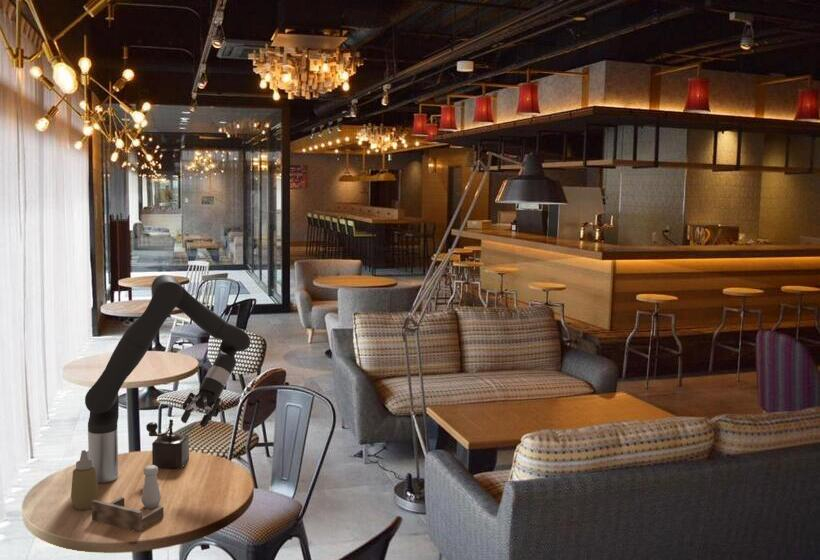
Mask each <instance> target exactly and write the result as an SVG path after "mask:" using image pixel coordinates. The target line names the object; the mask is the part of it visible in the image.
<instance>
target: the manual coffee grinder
mask: <svg viewBox="0 0 820 560" xmlns="http://www.w3.org/2000/svg"><path fill="white" fill-rule="evenodd" d="M168 421H169V423H168V428H167V429H166V430H165V431H164V432H161V433H158V432H157V429H158V428H159V426H158V423H157V422H149V423H147V424H146V425H145V427H146V431H147V432H148V436H149V437H156V439H155V440H154V441H153V442H152V444H151V445H152V448H151V450H152V455H151V457H152V460H151V461H152V465H155V466H157V467H158V470H181V469H182V468H183V467H184V466H185V465H186V464H187V462H188V461H189V460H190V453H189V452H190V435H189V434H179V433H176V432H173V426H174V420H173V419H169V420H168ZM185 463H186V464H185ZM184 464H185V465H184ZM183 465H184V466H183Z"/></svg>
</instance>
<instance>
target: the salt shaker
mask: <svg viewBox="0 0 820 560" xmlns="http://www.w3.org/2000/svg"><path fill="white" fill-rule="evenodd" d="M143 468H144V469H143V475H144V476H145V477H144V484H143V489H142V495H141V504H142V505H143V506H144V509H149V510H154V509H157V508H158V507H159V504H160V502H161V499H162V496H161V490H160V485H159V481H158V477H157V474H159V473H158V472H159V469H158V467H157V466H155V465H153V464H149V465H146V466H144V467H143Z"/></svg>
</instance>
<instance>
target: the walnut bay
mask: <svg viewBox="0 0 820 560" xmlns="http://www.w3.org/2000/svg"><path fill="white" fill-rule="evenodd" d="M163 517H164V506H162V505H161V506H157V507H156V508H154V509H152V511H150V512H148V513H146V514H144V515H143V511H141V510H140V509H139V510H138V509H133V508H131V507H126V506H125V497H124V496H120V497H118V498H116V499H115V500H113V501H111V502H105V501H102V500H98V499H97V500H93V501H92V508H91V521H93V522H94V521H95V522H97V523H100V524H101V523H102V524H107V525H109V526H114V527H116V526H117V527H118V528H121V529H124V530H128V529H129V530H128V531H132V530H134V531H133V532H135V531H137V532H136V533H139V532H140V533H141V532H143V529H145V528H146V526H147V527H149V526H150V525H151V524H154V523H155V522H157V521H158V520H160V519H162V518H163Z"/></svg>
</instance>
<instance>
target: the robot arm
mask: <svg viewBox="0 0 820 560" xmlns="http://www.w3.org/2000/svg"><path fill="white" fill-rule="evenodd" d="M151 293H152V297H151V299H150V301H149V303H148V305H147V307H146V309H145V310H144V312H143V313H142V314H141V316H139V317H138V318H137V319H136V320H135V321H134V322H133V323H132V324H131V325H130V326H128V328H127V329H126V330H125V332H124V333H123V335H122V337H121V338H120V340H119V341H118V343H117V345H116V346H115V349H114V350H113V352H112V354H111V356H110V357H109V359H108V360H109V361H108V362H107V364H106V367H105V368H104V370H103V372H102V373H101V375H100V376H99V377H98V379H97V380H96V381H95V383H94V384H93V385H92V386H91V387H90V388H89V390H88V391H87V392H86V394H85V396H84V405H85V407H86V409H87V410H88V411H89V418H88V422H87V441H88V442H87V445H88V446H87V447H88V450H87V451H86V453H87V457H88V460H91V461H92V467H94V468H95V470H96V477H97V484H105V483H109V482H113V481H115V480H117V479H118V478H119V447H118V445H119V444H118V443H119V441H118V440H119V439H118V435H119V434H118V420H119V413H120V412H119V411H120V409H119V406H120V405H119V402H120V399H119V391H120V389H121V387H122V386H123V384H124V383H125V381H126V380H127V379H128V377H129V376H130V375H131V373H132V372H133V371H134V370H135V369H136V367H137V366H138V365H139V363H140V362H141V361H142V359H143V358H144V356H145V355H146V354H147V352H148V350H149V348H150V347H151V345H152V344H153V342H154V340H155V338H156V337H157V335H158V333H159V331H160V330H161V327H162V326H163V324H164V323H165V321H167V318H168V317H169V316H170V315H171V314H172V312H173V311H174V310H175V308H177V309H178V310H180V311H181V312H182V313H183V314H185V315H186V316H187V317H188V318H189V319H190V320H191V321H192V322H193V323H194V324H195V325H197V326H198V327H199V328H200V329H201V330H202V331H204V332H205V333H207V334H208V335H209V336H210V337H212V338H214V339H217V340H221V343H220V345H219V349H218V352H217V356H216V357H215V360H214V362H213V363H212V366H211V367H210V368H209V370H208V371H207V373H206V375H205V376H204V378H203V380H202V383H201V384H200V385H199V388H198V392H197V393H196V394H195V393H193V392H192V391H191V392H189V394H188V395H187V397H186V399H185V401H184V402H183V404H181V405H182V406H181V408H182V409H183V410H184V411H183V414H182V416H181V418H180V421H181V422H182V423H183V424H186V423H187V422H188V421H189V418H190V416H191V415H192V413H193V412H194V411H197V410H203V411H204V410H205V414H204V415H203V417H202V419H200V421H199V426H201V427H202V428H206V426H207V425H208V424H209V421H210V420H211V418H213V417H215V418H216V417H218V416H219V412H221V411H220V410H221V409H222V406H223V404H224V401H223V400H222V398H220V397H221V395H222V393H223V391H224V389H225V388H226V385H228V382H229V379H230V376H231V374H232V373H233V371H234V369H235V367H236V364H237V359H236V358H235V355H236V353H237V352H243V351H246V350H248V348H249V347H251V346H250V345H251V338H250V336H249V335H248V333H247V332H246V331H244V330H243V329H241V328H240V327H237V326H236V325H234V324H231V323H229V322H227V321H226V320H225V319H224V318H222V317H221V316H219V314H216V313H215V312H214V311H213V310H211V309H210V308H208V307H207V306H205V305H204V304H203V303H201V301H199V300H198V299H196V298H195V297H194V296H193V295H192V294H191V293H190V292H189V291H187V290H186V289H185V288H184V287H183V286H182V284H181V283H180V282H179V281H178V280H177V279H176V277H174V276H172V275H170V274H160V275H158V276H156V277H155V279H154V280H153V281H152V283H151Z"/></svg>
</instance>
